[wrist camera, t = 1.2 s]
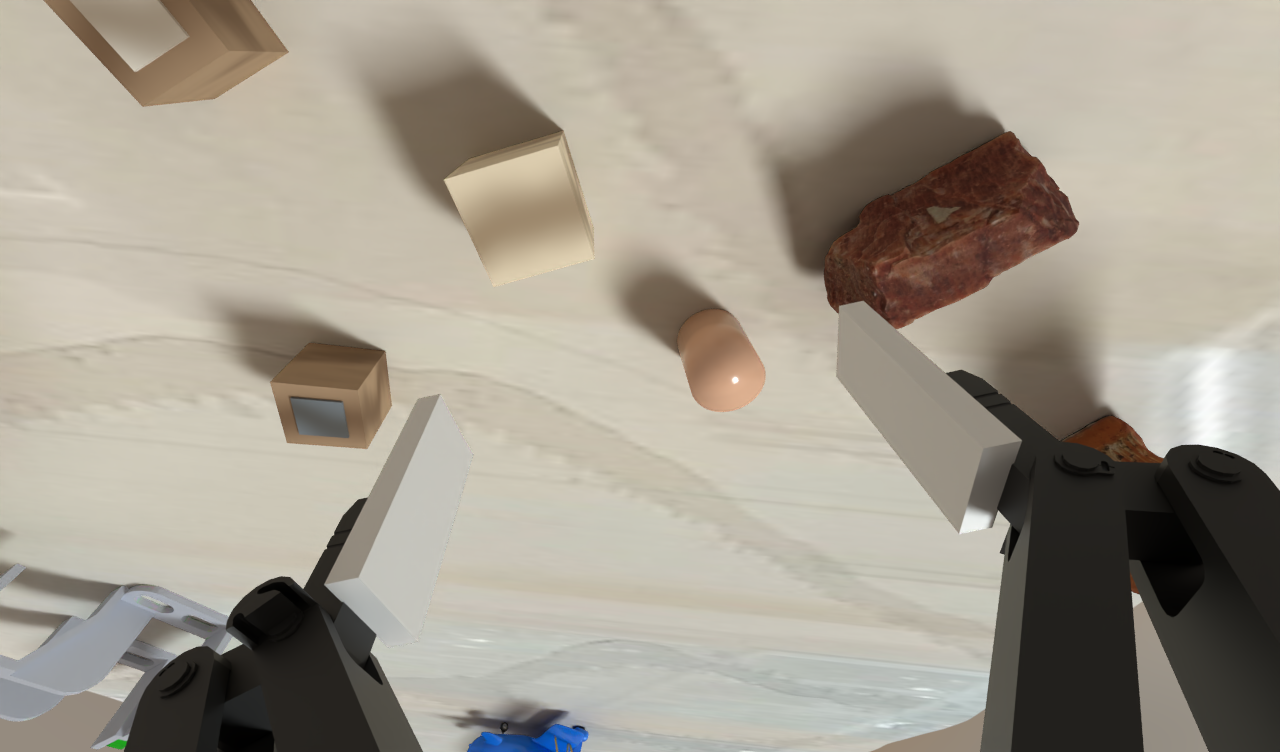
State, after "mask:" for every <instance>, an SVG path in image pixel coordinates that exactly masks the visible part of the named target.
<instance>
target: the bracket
mask: <svg viewBox="0 0 1280 752" xmlns="http://www.w3.org/2000/svg"><path fill="white" fill-rule="evenodd" d="M25 568H26V567H25V566H22V565H20V564H16V565H14V566H13V567H11V568H10V569H8V570H7V571H6V572H4V573H3V574H1V575H0V591H1V590H2V589H3V588H4V587H5V586H7V585H8V584H9V583H10V582H11V581H12V580H13V579H14V578H15V577H17V576H18V575H19V574H20V573H21V572H22V571H23V570H24V569H25ZM141 595H143V596H149V597H151V598H154V599H156V600H158V601H161V602H163V603H165V604H168V605H170V606H171V607H165V606H162V605H160V604H157V603H155V602H153V601H150V600H148V599H146V598H144V597H142V596H141ZM187 615H190V616H195V617H198V618H200V619H203V620H205V621H207V622H209V623H212V624H214V625H216V626H210V625H207V624H204V623H202V622H200V621H197V620H195V619H193V618H190V617H188V616H187ZM152 617H153V618H155V619H158V620H160V621H163V622H165V623H167V624H170V625H172V626H175V627H177V628H180V629H182V630H185V631H187V632H189V633H192V634H194V635H197V636H199V637H202V638H204V639H206V640H205V642H204V643H203V645H202V646H208V647H210V648H211V649H212V650H214V651H215V652H217V653H218V654H220V655H221V654H222V652H223V651H224V649H225V648H226V646H227V644H228V643H229V641H230V639H231V638H232V635H231V634H230V633H228V632H227V631H226V624H227V620H228V618H229V617H228V616H225V615H223V614H221V613H219V612H216V611H214V610H212V609H210V608H208V607H205V606H203V605H201V604H199V603H196V602H194V601H192V600H190V599H187V598H185V597H183V596H181V595H178V594H176V593H174V592H172V591H169V590H167V589H164V588H162V587H158V586H154V585H137V586H134V587H131V588H128V587H125V586H123V585H122V586H121V587H119V588H117V589H116V590H114V591H112V592H111V593H110V594H109V595H108V596H107V598H106V599H105V600H104V601H103V602H102V603H101V604H100V605H99V607H98V608H97V609H96V610H95V611H94V612H93V613H92V614H91V615H90V617H89V618H88V619H87V620H86V621H85V620H83V619H80V618H77V617H75V616H72V617H70V618H69V619H67V620H65V621H64V622H62V623H61V624H60V625H59V627H58V628H57V629H56V630H55V631H54V632H53V633H52V634H51V635H50V636H49V637H48V638H47V639H46V640H45V642H44V643H43V644H42V645H41V646H40V647H39V648H38V649H37V650H35V651H33V652H32V653H30V654H28V655H27V656H25V657H23V658H22V659H20V660H15V659H12V658H9V657H6V656H3V655H0V718H2V719H6V720H10V721H25V720H29V719H33V718H35V717H38V716H40V715H42V714H43V713H45V712H47V711H49V710H51V709H52V708H53V707H55V706H56V705H57V704H58V703H59V702H60V701H61V700H62V699H63V698H64V696H65V695H72V694H78V693H80V692H83V691H85V690H87V689H89V688H91V687H93V686H94V685H96V684H98V683H99V682H100V681H102V680H103V679H104V678H105V677H106V676H107V675H108V673H109V672H110V671H111V669H112V668H113V667H114V666H115V664H116V663H117V662H118V663H121V664H124V665H127V666H129V667H132V668H135V669H138V670H141V671H144V672H145V673H144V674H143V676H142V677H141V679H140V680H139V681H138V683H137V684H136V685H135V687H134V688H133V690H132V691H131V692H130V694H129V695H128V697H127V698H126V699H125V701H124V702H123V703H122V705H121V706H120V708H119V709H118V710H117V712H116V713H115V715H114V716H113V717H112V719H111V720H110V721H109V723H108V724H107V725H106V727H105V728H104V730H103V731H102V732H101V734H100V735H99V737H98V738H97V739H96V741H95V742H94V744H93V745H92V746H91V748H94V749H99V748H102V747H104V746H109V747H113V748H117V749H123V748H124V747H125V746H126V743H127V740H128V737H129V733H130V730H131V727H132V724H133V720H134V717H135V714H136V711H137V708H138V704H139V701H140V699H141V697H142V695H143V693H144V691H145V689H146V687H147V686H148V684H149V683H150V682H151V681H152V679H153V678H154V677H155V676H156V674H157V673H158V672H159V671H161V670H162V669H163V668H164V667H165V666H166V665H167V664H168V663H169V662H170V661H172V660H173V659H175V658H176V655H175V654H172V653H169V652H167V651H164V650H162V649H159V648H156V647H154V646H151V645H148V644H146V643H143V642H140V641H138V640H135V639H136V638H137V636H138V635H139V634H140V632H141V631H142V630H143V629H144V627H145V626H146V625H147V624H148V622H149V621H150V620H151V618H152ZM126 652H130V653H133V654H136V655H139V656H142V657H144V658H147V659H150V660H146V659H143V658H140V657H137V656H135V655H132V654H129V653H126Z"/></svg>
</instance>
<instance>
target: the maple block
mask: <svg viewBox="0 0 1280 752" xmlns="http://www.w3.org/2000/svg"><path fill="white" fill-rule="evenodd" d="M444 181H445V183H446V185H447V187H448V190H449V192H450V194H451V196H452V198H453V200H454V203H455V205H456V207H457V209H458V211H459V213H460V215H461V218H462V220H463V222H464V224H465V226H466V228H467V231H468V233H469V235H470V237H471V239H472V241H473V243H474V246H475V248H476V250H477V252H478V254H479V256H480V259H481V261H482V263H483V265H484V267H485V269H486V272H487V274H488V276H489V278H490V280H491V282H492V284H493V287H496V286H499V285H503V284H506V283H510V282H514V281H517V280H521V279H524V278H528V277H531V276H535V275H539V274H542V273H546V272H549V271H553V270H556V269H560V268H563V267H567V266H571V265H574V264H578V263H581V262H585V261H588V260H592V259H594V227H593V224H592V221H591V218H590V215H589V211H588V208H587V205H586V202H585V198H584V195H583V192H582V189H581V186H580V182H579V179H578V176H577V173H576V169H575V166H574V163H573V160H572V157H571V153H570V150H569V147H568V144H567V141H566V137H565V134H564V131H560V132H557V133H554V134H550V135H547V136H544V137H540V138H537V139H534V140H530V141H527V142H524V143H520V144H517V145H514V146H510V147H507V148H504V149H500V150H497V151H494V152H490V153H487V154H484V155H480V156H477V157H474V158H470V159H468V160H467V161H466V162H464V163H463V164H462V165H461V166H460V167H458V168H457V169H456V170H455V171H454V172H452V173H451V174H450V175H449V176H448V177H446V178H445V179H444Z"/></svg>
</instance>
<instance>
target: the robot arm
mask: <svg viewBox="0 0 1280 752" xmlns="http://www.w3.org/2000/svg"><path fill="white" fill-rule="evenodd" d="M836 377H837V378H838V379H839V380H840V382H841V383H842V384H843V386H844V387H845V388H846V389H847V391H848V392H849V393H850V395H851V396H852V397H853V398H854V400H855V401H856V402H857V403H858V405H859V406H860V407H861V409H862V410H863V411H864V412H865V414H866V415H867V416H868V418H869V419H870V420H871V421H872V423H873V424H874V425H875V427H876V428H877V429H878V430H879V432H880V433H881V434H882V436H883V437H884V438H885V439H886V441H887V442H888V443H889V445H890V446H891V447H892V448H893V450H894V451H895V452H896V454H897V455H898V456H899V457H900V459H901V460H902V461H903V463H904V464H905V465H906V466H907V468H908V469H909V470H910V472H911V473H912V474H913V475H914V477H915V478H916V479H917V481H918V482H919V483H920V484H921V486H922V487H923V488H924V489H925V491H926V492H927V493H928V495H929V496H930V497H931V498H932V500H933V501H934V502H935V504H936V505H937V506H938V507H939V509H940V510H941V511H942V513H943V514H944V515H945V516H946V518H947V519H948V520H949V522H950V523H951V524H952V525H953V527H954V528H955V529H956V531H957V532H958V533H959V534H962V533H967V532H972V531H977V530H982V529H987V528H992V527H993V524H994V521H995V518H996V515H997V512H998V510H999V512H1000V513H1001V514H1002V515H1003V516H1004V517H1005V518H1006V519H1007V520H1008V521H1009V523H1010V527H1009V530H1008V532H1007V535H1006V538H1005V540H1004V543H1003V546H1002V548H1001V551H1000V553H1001V554H1004V555H1005V556H1004V564H1003V572H1002V580H1001V588H1000V596H999V604H998V612H997V621H996V629H995V637H994V645H993V653H992V661H991V669H990V677H989V685H988V693H987V701H986V709H985V717H984V725H983V734H982V742H981V750H980V752H1144V748H1143V735H1142V722H1141V710H1140V697H1139V683H1138V670H1137V657H1136V644H1135V632H1134V619H1133V606H1132V593H1131V580H1130V573H1131V575H1132V578H1133V580H1134V582H1135V585H1136V587H1137V589H1138V591H1139V594H1140V596H1141V598H1142V601H1143V603H1144V605H1145V607H1146V609H1147V612H1148V614H1149V616H1150V619H1151V621H1152V623H1153V626H1154V628H1155V630H1156V632H1157V634H1158V637H1159V639H1160V642H1161V644H1162V646H1163V648H1164V651H1165V653H1166V655H1167V657H1168V660H1169V662H1170V664H1171V667H1172V669H1173V671H1174V673H1175V676H1176V678H1177V680H1178V683H1179V685H1180V687H1181V689H1182V692H1183V694H1184V696H1185V698H1186V700H1187V703H1188V705H1189V708H1190V710H1191V712H1192V714H1193V717H1194V719H1195V721H1196V724H1197V725H1198V728H1199V730H1200V733H1201V735H1202V737H1203V739H1204V742H1205V744H1206V746H1207V749H1208V751H1209V752H1280V491H1279V489H1278V488H1277V487H1276V486H1275V484H1274V483H1273V482H1272V481H1271V479H1270V478H1269V477H1268V476H1267V474H1266V473H1264V472H1263V471H1262V470H1261V469H1260V468H1259V467H1258V466H1256V465H1255V464H1254V463H1252V462H1250V461H1248V460H1246V459H1245V458H1243V457H1241V456H1239V455H1237V454H1234V453H1231V452H1228V451H1225V450H1222V449H1219V448H1215V447H1209V446H1203V445H1181V446H1178V447H1175V448H1172V449H1170V450H1169V452H1168V453H1167V454H1166V456H1165V458H1164V459H1163V461H1162V463H1146V462H1118V461H1113V460H1112V459H1111V458H1110V457H1109V456H1108V455H1106V454H1104V453H1102V452H1100V451H1098V450H1096V449H1094V448H1092V447H1088V446H1085V445H1082V444H1078V443H1070V442H1060V441H1058V440H1057V439H1056V438H1055V437H1053V436H1052V435H1051V434H1050V433H1049V432H1047V431H1046V430H1045V429H1044V428H1042V427H1041V426H1040V425H1039V424H1037V423H1036V422H1035V421H1034V420H1033V419H1031V418H1030V417H1029V416H1028V415H1026V414H1025V413H1024V412H1023V411H1021V410H1020V409H1019V408H1018V407H1017V406H1015V405H1014V404H1011V403H1010V401H1009V400H1008V399H1007V398H1005V397H1004V396H1003V395H1002V394H998V391H997V390H996V389H994V388H993V387H992V386H991V385H989V384H988V383H987V382H986V381H985V380H983V379H982V378H979V377H977V376H975V375H972V374H970V373H968V372H965V371H963V370H958V371H954V372H949V373H945V372H944V371H942V370H941V369H940V368H939V367H938V366H937V365H936V364H934V363H933V362H932V361H931V360H930V359H929V358H928V357H927V356H925V355H924V354H923V353H922V352H921V351H920V350H919V349H917V348H916V347H915V346H914V345H913V344H912V343H911V342H910V341H908V340H907V339H906V338H905V337H904V336H903V335H902V334H900V333H899V332H898V331H897V330H896V329H895V328H894V327H893V326H891V325H890V324H889V323H888V322H887V321H886V320H885V319H883V318H882V317H881V316H880V315H879V314H878V313H877V312H875V311H874V310H873V309H872V308H871V307H870V306H869V305H868V304H866V303H865V302H864V301H860V302H855V303H851V304H846V305H842V306H839V323H838V348H837V373H836ZM473 455H474V454H473V452H472V450H471V449H470V447H469V445H468V443H467V441H466V440H465V438H464V436H463V434H462V432H461V430H460V429H459V427H458V425H457V423H456V421H455V420H454V418H453V416H452V414H451V412H450V410H449V409H448V407H447V405H446V403H445V401H444V400H443V398H442V396H441V394H438V395H433V396H429V397H424V398H420V399H418V400H417V402H416V404H415V406H414V408H413V410H412V412H411V414H410V416H409V418H408V420H407V422H406V424H405V426H404V428H403V429H402V431H401V433H400V435H399V437H398V439H397V441H396V443H395V445H394V447H393V449H392V451H391V453H390V455H389V457H388V459H387V461H386V463H385V465H384V467H383V469H382V471H381V473H380V475H379V477H378V479H377V481H376V483H375V485H374V487H373V489H372V491H371V493H370V495H369V497H368V498H363V499H359V500H357V501H356V502H355V503H354V505H353V506H352V507H351V508H350V509H349V510H348V511H347V512H346V513H345V514H344V515H343V517H342V519H341V520H340V522H339V524H338V526H337V528H336V530H335V532H334V536H332V537H331V539H330V541H329V543H328V545H327V549H326V550H324V552H323V554H322V556H321V558H320V559H319V561H318V563H317V565H316V567H315V569H314V570H313V572H312V574H311V576H310V578H309V580H308V582H307V583H306V585H305V587H304V589H302V588H301V587H300V586H299V585H298V584H297V583H296V582H295V581H294V580H293V579H292V578H291V577H282V576H281V577H277V578H274V579H271V580H268V581H266V582H265V583H263V584H261V585H259V586H257V587H256V588H255V589H253V590H252V591H251V592H250V593H248V594H247V595H246V596H245V597H244V598H243V599H242V600H241V601H240V602H239V603H238V604H237V605H236V607H235V608H234V609H233V611H232V612H231V614H230V616H229V618H228V620H227V624H226V631H227V632H228V633H230V634H231V635H232V636H234V637H235V638H236V639H238V640H239V641H240V642H242V643H243V644H242V645H240V646H238V647H236V648H234V649H232V650H230V651H228V652H226V653H224V654H222V655H220V654H218V653H217V652H215V651H214V650H212V649H211V648H210V647H208V646H200V647H196V648H193V649H191V650H188V651H186V652H184V653H182V654H181V655H179V656H178V657H176V658H175V659H173V660H172V661H170V662H169V663H168V664H167V665H166V666H165V667H164V668H163V669H162V670H161V671H159V672H158V673H157V674H156V676H155V677H154V678H153V679H152V681H151V682H150V683H149V684H148V686H147V687H146V689H145V691H144V693H143V695H142V697H141V699H140V701H139V704H138V708H137V711H136V714H135V717H134V720H133V724H132V727H131V730H130V733H129V737H128V740H127V743H126V746H125V750H124V752H423V751H422V749H421V747H420V745H419V743H418V741H417V739H416V737H415V735H414V733H413V731H412V729H411V727H410V725H409V723H408V720H407V718H406V716H405V714H404V712H403V710H402V708H401V706H400V704H399V702H398V700H397V698H396V696H395V694H394V692H393V690H392V688H391V686H390V684H389V682H388V680H387V678H386V676H385V674H384V672H383V670H382V668H381V666H380V664H379V662H378V660H377V658H376V657H375V656H374V655H373V654H372V653H370V651H371V648H372V646H373V643H374V640H375V638H376V637H378V638H379V639H380V640H381V641H382V642H383V643H384V644H385V645H386V646H387V647H388V648H392V647H397V646H402V645H407V644H412V643H417V642H419V638H420V635H421V632H422V628H423V625H424V621H425V618H426V615H427V611H428V608H429V604H430V601H431V598H432V594H433V591H434V587H435V584H436V581H437V577H438V574H439V570H440V567H441V564H442V560H443V557H444V553H445V550H446V547H447V543H448V540H449V536H450V533H451V530H452V526H453V523H454V519H455V516H456V512H457V509H458V506H459V502H460V499H461V495H462V492H463V489H464V485H465V482H466V478H467V475H468V472H469V468H470V465H471V461H472V458H473Z"/></svg>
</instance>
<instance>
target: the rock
mask: <svg viewBox="0 0 1280 752" xmlns="http://www.w3.org/2000/svg"><path fill="white" fill-rule="evenodd" d="M859 219H860V223H859V224H858V225H857V227H856V228H854V229H853V230H851V231H849V232H847V233H846V234H844V235H843V236H841V237H839V238H838V239H837V240H836V241H834V242H833V244H832V246H831V247H830V249H829V252H828V254H827V255H826V257H825V269H824V281H825V287H826V291H827V299H828V302H829V304H830V306H831V307H832V308H833V309H834V310H835V311H836V312H837V313H838V314H839V306H842V305H846V304H851V303H855V302H860V301H864V302H865V303H866V304H868V305H869V306H870V307H871V308H872V309H873V310H874V311H875V312H877V313H878V314H879V315H880V316H881V317H882V318H883V319H885V320H886V321H887V322H888V323H889V324H890V325H891V326H893V327H894V328H895V329H899V328H902V327H904V326H906V325H909V324H911V323H913V321H914V320H915V319H918V318H920V317H922V316H924V315H926V314H928V313H930V312H932V311H934V310H936V309H939V308H942V307H944V306H947V305H950V304H952V303H955V302H957V301H959V300H961V299H963V298H965V297H967V296H969V295H971V294H973V293H975V292H977V291H979V290H981V289H983V288H985V287H986V286H987V285H988V284H989V283H990V281H991V280H992V278H993V277H995V276H998V275H999V274H1001V273H1002V272H1003V271H1006V270H1008V269H1010V268H1012V267H1014V266H1016V265H1018V264H1020V263H1021V262H1023V261H1024V260H1026V259H1028V258H1030V257H1032V256H1033V255H1035V254H1037V253H1040V252H1042V251H1044V250H1046V249H1048V248H1050V247H1052V246H1054V245H1055V244H1057V243H1059V242H1061V241H1063V240H1065V239H1069V238H1070V237H1071V236H1073V235H1074V234H1075V233H1076V232H1077V229H1078V226H1079V222H1078V221H1077V220H1076V218H1075V216H1074V214H1073V211H1072V208H1071V205H1070V203H1069V200H1068V197H1067V196H1066V195H1065V194H1064V193H1063V192H1062V191H1059V187H1058V186H1057V184H1056V183H1055V181H1054V180H1053V179H1052V178H1051V177H1050V176H1049V175H1048V174H1047V172H1046V169H1045V167H1044V166H1043V164H1042V163H1041V162H1040V160H1039V159H1038V158H1037V157H1032V156H1031V155H1030V154H1029V153H1028V152H1027V151H1026V150H1025V149H1024V148H1023V147H1022V145H1021V144H1020V141H1019V139H1017V138H1016V136H1015V135H1014V133H1012V132H1011V131H1009V132H1006V133H1004V134H1002V135H1000V136H998V137H997V138H995V139H993V140H991V141H990V142H988V143H986V144H984V145H982V146H980V147H979V148H977V149H975V150H973V151H971V152H969V153H966V154H964V155H962V156H960V157H959V158H957V159H955V160H954V161H952V162H951V163H949V164H946V165H944V166H942V167H940V168H938V169H936V170H934V171H932V172H930V173H929V174H928V175H926V176H925V177H924V178H922V179H921V180H919V181H918V182H916V183H914V184H913V185H910V186H907V187H906V188H904V189H903V190H901V191H899V192H896V193H895V194H893V195H885V196H883V197H880V198H878V199H876V200H874V201H873V202H871V203H869V204H868V205H867V206H866V207H865V208H864V209H863V211H862V213H861V214H860V216H859Z"/></svg>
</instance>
